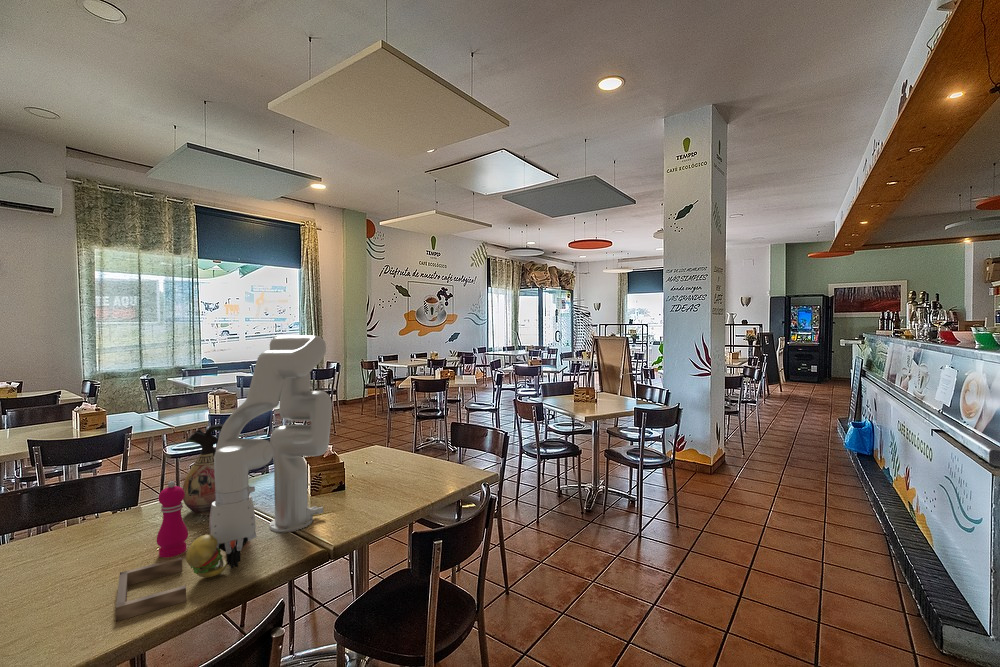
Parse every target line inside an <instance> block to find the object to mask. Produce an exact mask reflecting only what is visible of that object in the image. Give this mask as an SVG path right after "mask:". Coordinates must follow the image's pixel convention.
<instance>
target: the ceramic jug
mask: <svg viewBox="0 0 1000 667" xmlns="http://www.w3.org/2000/svg"><path fill="white" fill-rule="evenodd" d="M223 425H224V424H222V423H216V424H212V425H210V426H209V427H208V428H207V429H206V431H205V432H204V431H203V430H202V429H201V428H199V429H197V430H196V431H194V432H193V433H192V435H190V436H189V437H188V438H187V439H186V442H189V443H193V444H198V445H199V446H201V451H200V454H199V455H198V457H197V458H196V460H195V461H194V462H193V464H192V465H191V467H190V469H189V471H188V472H187V474H186V476H185V478H184V481H183V485H182V489H183V490H184V492H185V497H184V499H183V500H182V502H183V504H185V506H186V507H187V508H188V509H189V510H191V512H193V513H194V515H196V516H208V515H209V516H210V510H211V505H212V503H213V502H214V501H215V468H214V455H215V452H216V449H215V447H214V445H217V443H218V439H219V438H217V437H216V436H215V435H213V434H212V432H215V431H220V432H221V429H222V427H223Z"/></svg>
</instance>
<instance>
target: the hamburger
mask: <svg viewBox="0 0 1000 667" xmlns="http://www.w3.org/2000/svg"><path fill="white" fill-rule="evenodd" d="M185 543H186V545H187V546H189V547H188V548H187V549H186V555H185V561H186V563H187V565H188V566H189V567H190V568H191V569H192V571H193V574H195V575H196V576H198V577H200V578H213V577H217V576H218V575H220V574H221V573H223V572H224V571H225V570H226V568H227V566H228V565H227V559H226V560H225V559H224V558H223V556H224V555H222V550H221V549H220V548H218V549H217V548H216V546H217V540H216V539H215V538H214V537H212V536H211V535H209V534H203V535H201V536H199V537H197V538H195V539H194V541H192V542H191V543H190V544H189V543H187V542H185Z"/></svg>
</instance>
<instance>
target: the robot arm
mask: <svg viewBox="0 0 1000 667" xmlns="http://www.w3.org/2000/svg"><path fill="white" fill-rule="evenodd" d="M326 351H327V345H326V342H325V339H323V338H322V337H321V336H319V335H313V334H311V335H310V334H309V335H308V334H307V335H305V334H303V335H302V334H301V335H300V334H298V335H297V334H292V335H290V334H287V335H278V336H274V337H272V339H271V340H270V342H269V350H265V351H262V352H261V353H260V354H259V355H258V357H257V360H256V363H255V366H254V369H253V373H252V376H251V377H252V378H251V381H250V384H249V389H248V393H247V396H246V399H245V400H244V402H242V404H241V405H239V406H238V407H237V408H236V409H235V410H234V411H233V412H232V413H231V414H230V416H228V418H227V419H226V420H225V422H224V423H223V424H222V425H223V427H222V429H221V431H220V433H219V436H218V438H217V439H218V443H216V449H215V450H216V452H215V455H214V468H215V501H214V502H213V503H212V505H211V510H210V514H209V520H208V521H209V524H208V530H209V531H208V535H211V536H212V537H214V538H215V539H216V540H217V546H216V548H217V549H218V548H220V550H221V551H223V552H225V553H226V562H227V566H228V565H229V567H230V569H231V570H232V569H234V568H239V562H241V560H242V559H241V557H242V555H241V551H242V549H243V548H244V547H245V545H246V544H247V542H250V541H252V540H253V539H255V538H257V533H256V530H257V529H256V527H257V526H256V514H255V507H254V501H253V497H252V495H250V494H252V493H253V492H255V491H256V488H255V486H250V485H249V471H251V470H255V469H259V468H262V467H265V466H266V465H268V464H269V463H270V462H271V461H272V459H273V472H274V474H273V477H274V479H273V480H274V481H273V483H274V484H273V485H274V486H273V488H274V519H273V520H271V521H270V523H269V530H271V531H272V532H275V533H280V532H281V533H283V534H284V533H292V532H297V531H299V530H298V529H301V530H303V529H305V528H304V527H306V528H307V526H308V525H309V526H310V525H311V524H312V523H313V522H314V517H313V516H314V515H319V514H320V515H321V514H323V513H324V507H323V506H320V507H318V506H317V505H315V506H312V507H309V506H308V505H309V504H308V466H307V464H306V461H305V460H304V458H303V457H319V456H320V457H321V456H322V455H324V454H325V453H326V452H327V450H328V447H329V445H330V444H329V442H330V434H331V424H332V414H333V412H332V411H333V402H332V399H331V395H329V394H328V393H327V392H326V391H323V390H311V377H312V376H311V372H312V371H313V369H315V367H317V365H319V363H321V361H322V360H323V358H324V357H325V355H326ZM278 406H279V407H278ZM275 408H279V409H278V411H279V415H280V417H281V418H282V419H283V420H286V421H304V422H305V421H308V422H309V421H310V422H311V424H284V425H280V426H277V427H276V428H275V429H274V430H273V431H272V432H271V435H270V438H269V440H267V439H262V438H239V437H240V435H241V432H242V431H243V429H244V428H245V427H246V425H248V424H249V422H250V421H252V420H253V419H255V418H257V417H259V416H260V415H263V414H265V413H267V412H270V411H272V410H274V409H275ZM309 526H308V527H309ZM302 528H303V529H302ZM296 530H297V531H296ZM234 540H236V542H235V546H234V548H233V549H232V547H231V545H230V541H234Z"/></svg>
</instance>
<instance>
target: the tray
mask: <svg viewBox="0 0 1000 667" xmlns="http://www.w3.org/2000/svg"><path fill="white" fill-rule="evenodd" d="M181 572H183V558H182V556H180V557H178V558H177V557H176V558H173V559H170V560H169V559H168V560H166V561H165V560H164V561H162V562H157V563H152V564H148V565H145V566H141V567H137V568H133V569H129V570H124V571H121V572H119V576H118V577H119V578H118V586H117V594H116V603H115V622H120V621H123V620H126V619H129V618H133V617H137V616H139V615H143V614H147V613H149V612H150V613H151V612H153V611H156V610H161V609H164V608H166V607H170V606H174V605H176V604H180V603H184V602H187V586H186V585H187V584H184V585H181V586H178V587H174V588H170V589H167V590H163V591H159V592H155V593H151V594H148V595H145V596H142V597H138V598H135V599H131V600H127V599H128V587H129V586H130V585H131V586H132V585H135V584H138V583H142V582H146V581H150V580H154V579H158V578H161V577H165V576H168V575H169V576H170V575H173V574H176V573H181Z"/></svg>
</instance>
